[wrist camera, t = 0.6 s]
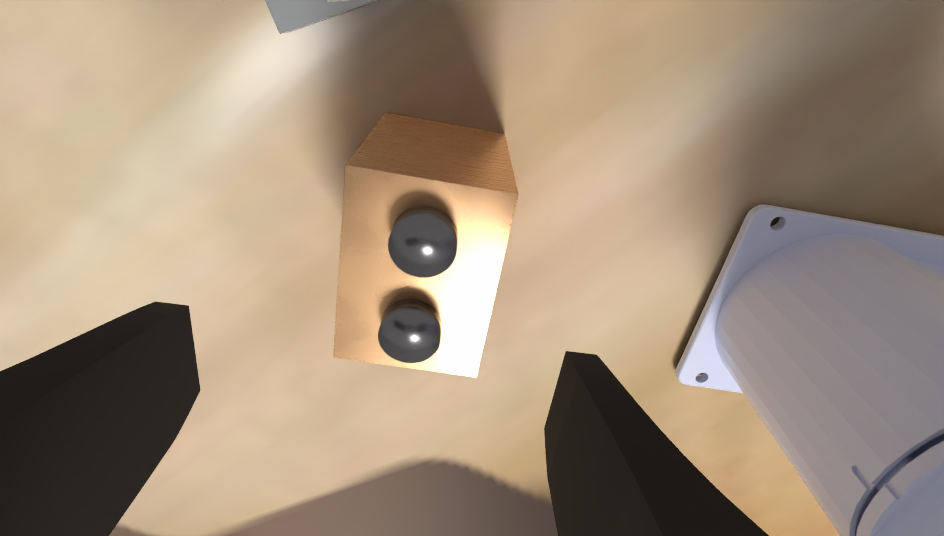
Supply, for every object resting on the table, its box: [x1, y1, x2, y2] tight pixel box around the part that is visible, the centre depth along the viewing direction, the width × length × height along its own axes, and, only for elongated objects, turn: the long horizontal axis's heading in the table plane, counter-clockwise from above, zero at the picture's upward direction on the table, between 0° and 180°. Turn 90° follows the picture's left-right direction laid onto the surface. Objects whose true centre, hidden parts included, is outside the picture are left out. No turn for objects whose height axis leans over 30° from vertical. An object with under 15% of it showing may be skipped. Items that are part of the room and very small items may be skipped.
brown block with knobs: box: [333, 112, 518, 377], centre depth 15 cm, size 4×6×7 cm
